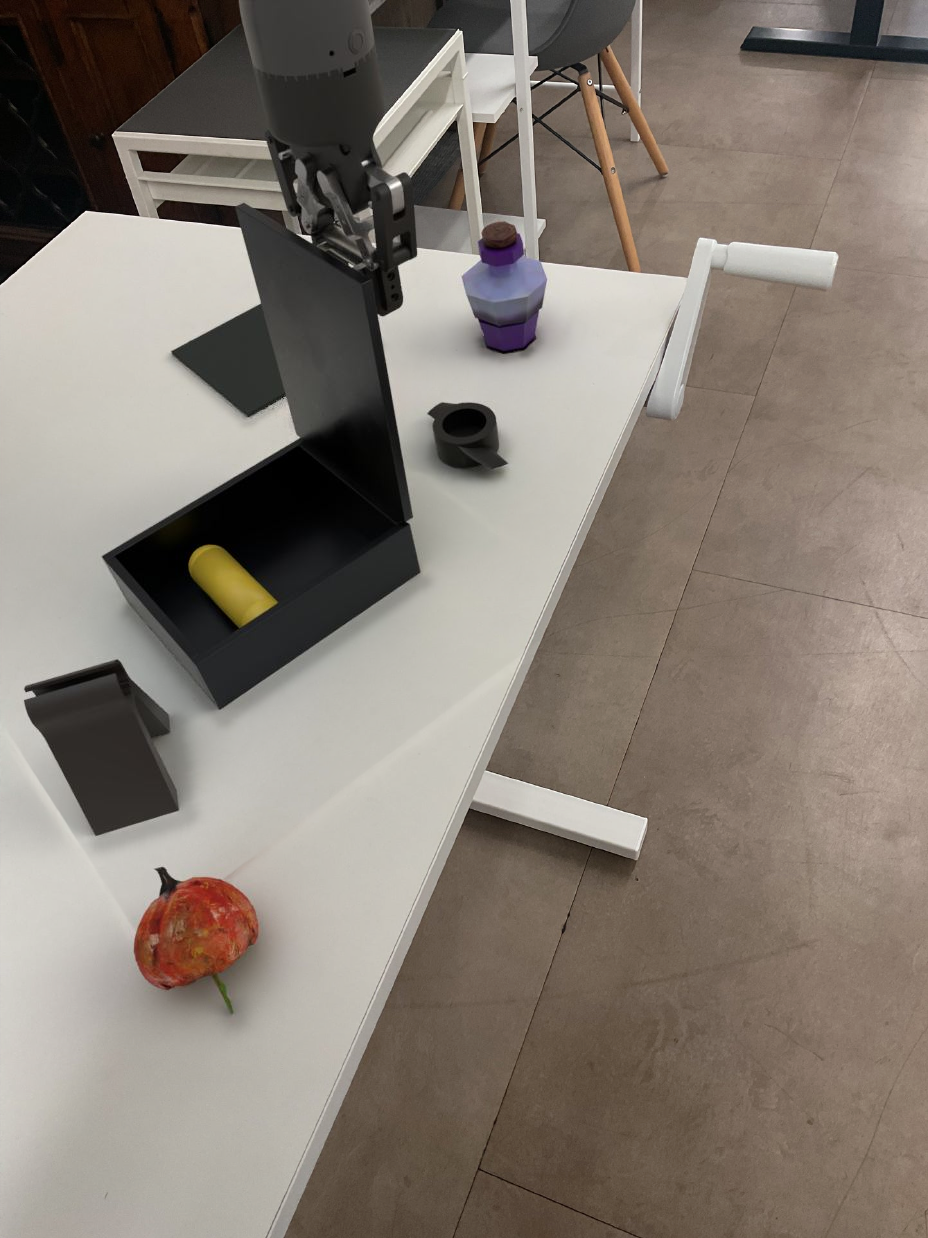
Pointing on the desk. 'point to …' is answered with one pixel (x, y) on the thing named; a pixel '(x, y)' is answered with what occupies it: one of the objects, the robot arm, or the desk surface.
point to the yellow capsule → (229, 584)
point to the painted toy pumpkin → (193, 932)
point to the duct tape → (466, 435)
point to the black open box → (266, 567)
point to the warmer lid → (329, 351)
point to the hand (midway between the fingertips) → (361, 292)
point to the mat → (237, 361)
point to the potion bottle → (505, 289)
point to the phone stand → (105, 744)
